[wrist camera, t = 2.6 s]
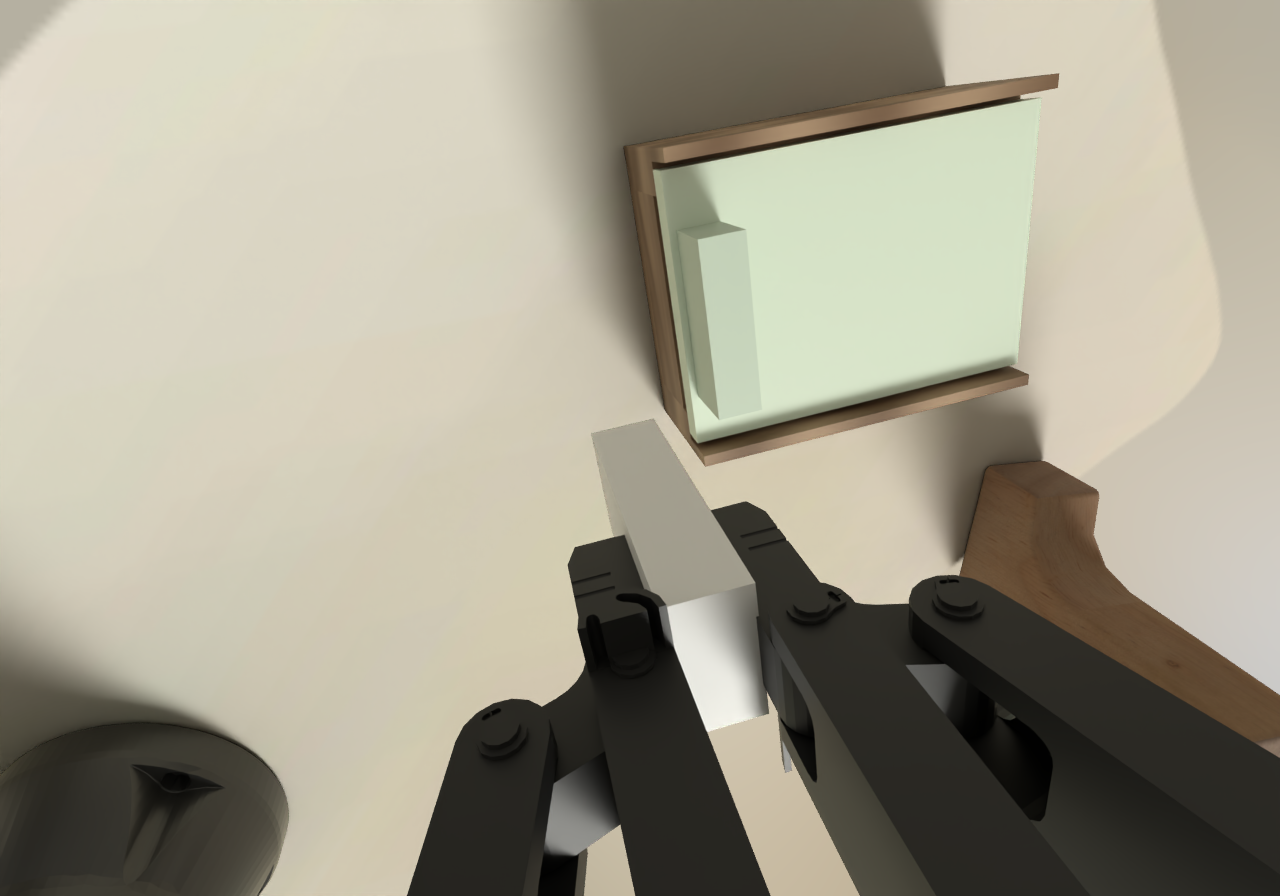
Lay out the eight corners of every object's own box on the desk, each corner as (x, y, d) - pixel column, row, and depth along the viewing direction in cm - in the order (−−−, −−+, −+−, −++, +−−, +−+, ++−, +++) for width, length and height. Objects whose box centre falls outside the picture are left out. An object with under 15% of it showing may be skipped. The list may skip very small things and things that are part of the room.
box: (665, 410, 36) (705, 466, 30) (623, 146, 30) (662, 147, 24) (937, 344, 38) (1027, 384, 32) (946, 86, 32) (1059, 73, 26)
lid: (690, 433, 31) (717, 470, 28) (652, 169, 26) (681, 174, 23) (999, 356, 33) (1062, 382, 30) (1020, 99, 28) (1098, 93, 25)
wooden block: (984, 463, 42) (1294, 659, 26) (1045, 458, 43) (1380, 643, 27) (954, 583, 46) (1210, 817, 30) (1011, 575, 47) (1289, 799, 31)
